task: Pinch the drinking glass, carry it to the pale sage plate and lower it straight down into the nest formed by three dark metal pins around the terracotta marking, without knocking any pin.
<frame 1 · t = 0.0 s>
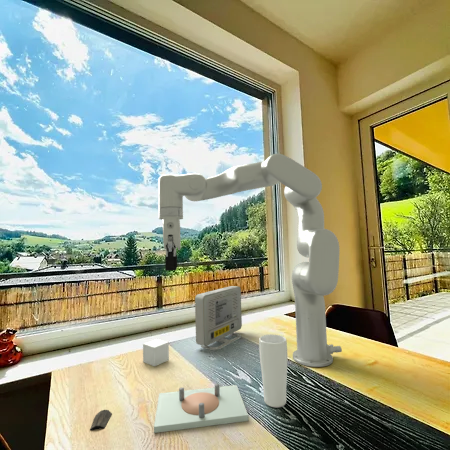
hand: (171, 269, 85), 31 cm above the table, tool pointing down, fingers open, 9 cm apart
pin nest plate: (200, 408, 65), on the table
network device: (221, 341, 109), on the table
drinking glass: (275, 403, 66), on the table
white cube: (156, 361, 92), on the table
block: (101, 424, 61), on the table
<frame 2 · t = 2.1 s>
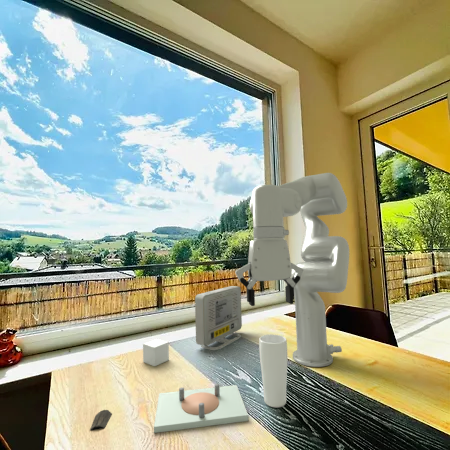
hand: (270, 303, 68), 23 cm above the table, tool pointing down, fingers open, 9 cm apart
nothing on the table moved.
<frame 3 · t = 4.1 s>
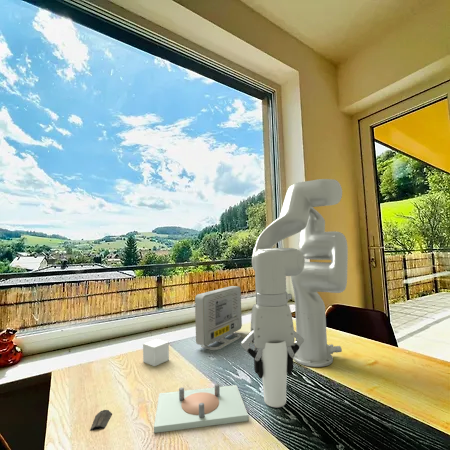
hand: (274, 373, 67), 7 cm above the table, tool pointing down, fingers closed on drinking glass, 6 cm apart
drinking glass: (275, 403, 66), on the table, touching gripper
everything else where it was.
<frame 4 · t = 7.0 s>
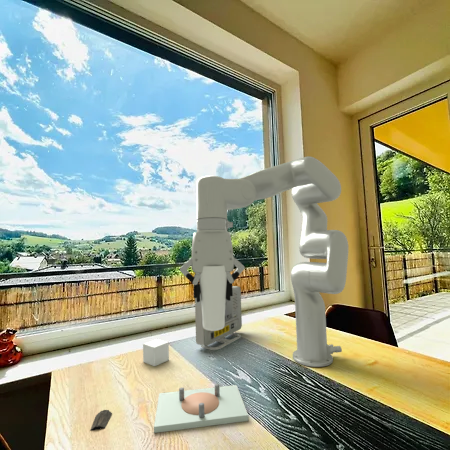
hand: (213, 299, 67), 25 cm above the table, tool pointing down, fingers closed on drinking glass, 6 cm apart
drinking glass: (213, 329, 66), point 18 cm above the table, touching gripper
everything else where it was.
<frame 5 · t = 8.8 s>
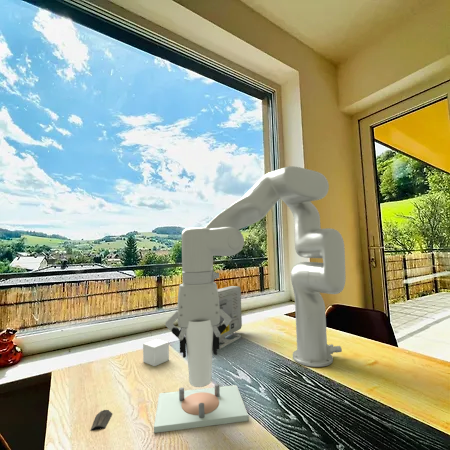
hand: (199, 353, 66), 13 cm above the table, tool pointing down, fingers closed on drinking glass, 6 cm apart
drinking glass: (200, 383, 65), point 6 cm above the table, touching gripper
everything else where it was.
when the fingers open (9 cm above the table, at t = 10.1 s): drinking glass moves 1 cm, resting on pin nest plate.
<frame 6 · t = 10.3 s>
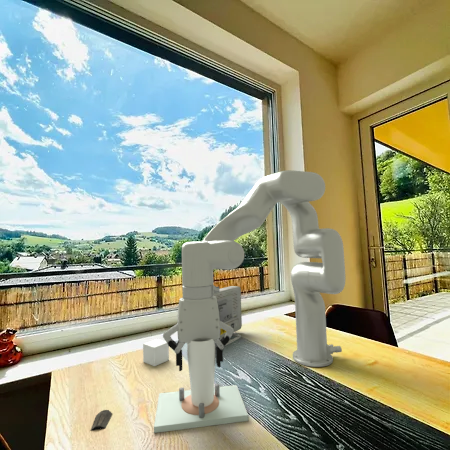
hand: (199, 366, 65), 10 cm above the table, tool pointing down, fingers open, 8 cm apart
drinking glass: (202, 402, 65), point 1 cm above the table, touching pin nest plate
everything else where it was.
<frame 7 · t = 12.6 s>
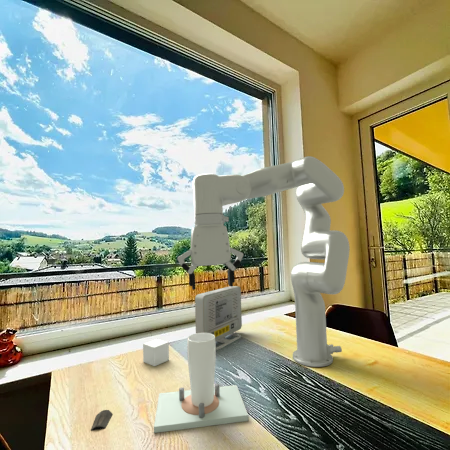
hand: (212, 287, 71), 27 cm above the table, tool pointing down, fingers open, 9 cm apart
nothing on the table moved.
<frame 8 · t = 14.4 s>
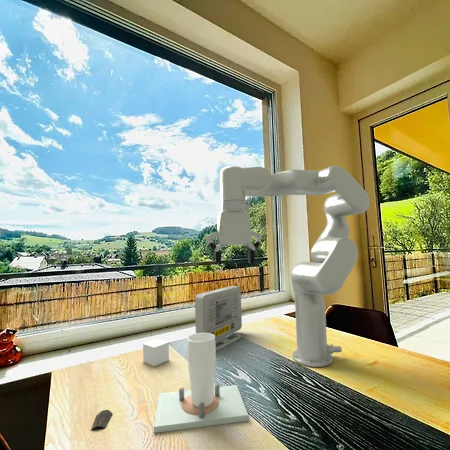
hand: (235, 264, 82), 32 cm above the table, tool pointing down, fingers open, 9 cm apart
nothing on the table moved.
at the end: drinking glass 0.6 cm off-centre on the pin nest plate, point 1.2 cm above the pin nest plate's base; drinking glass tilted 0°; the gripper is holding nothing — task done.
